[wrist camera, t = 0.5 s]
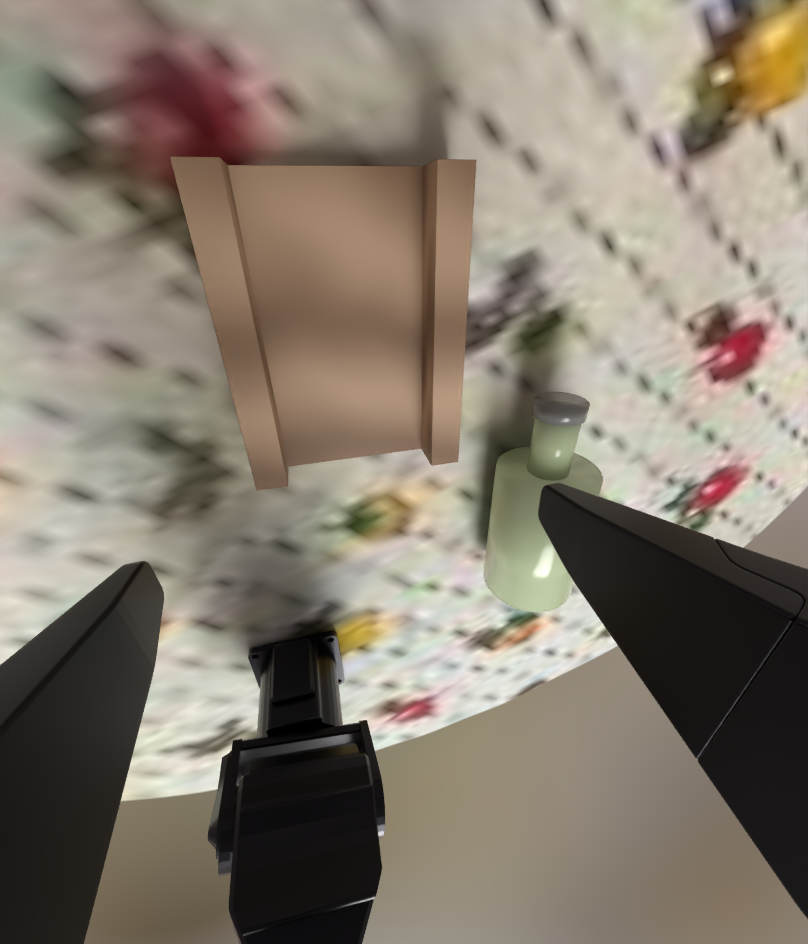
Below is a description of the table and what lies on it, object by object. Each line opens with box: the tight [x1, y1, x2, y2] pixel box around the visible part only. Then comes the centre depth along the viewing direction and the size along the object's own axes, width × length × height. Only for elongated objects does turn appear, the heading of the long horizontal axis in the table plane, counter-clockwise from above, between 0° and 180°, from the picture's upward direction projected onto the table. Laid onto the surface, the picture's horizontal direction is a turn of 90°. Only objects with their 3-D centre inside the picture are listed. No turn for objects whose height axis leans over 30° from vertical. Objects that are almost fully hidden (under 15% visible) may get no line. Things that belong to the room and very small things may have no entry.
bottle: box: [483, 392, 603, 612], centre depth 25 cm, size 13×6×6 cm, turn 1°
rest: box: [170, 157, 476, 491], centre depth 18 cm, size 13×10×3 cm
